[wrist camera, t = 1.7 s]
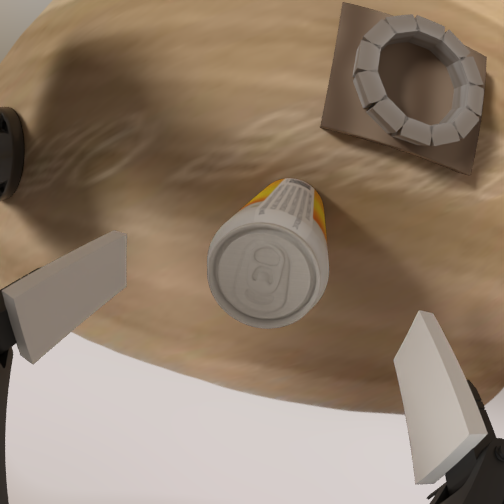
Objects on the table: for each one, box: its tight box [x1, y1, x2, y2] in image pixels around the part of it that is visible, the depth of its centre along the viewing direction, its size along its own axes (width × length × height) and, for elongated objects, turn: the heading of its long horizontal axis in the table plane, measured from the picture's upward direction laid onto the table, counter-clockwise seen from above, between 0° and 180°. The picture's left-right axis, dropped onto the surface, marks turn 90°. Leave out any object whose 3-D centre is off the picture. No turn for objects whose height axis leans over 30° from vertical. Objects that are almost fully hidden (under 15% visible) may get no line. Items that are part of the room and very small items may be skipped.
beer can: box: [207, 178, 329, 329], centre depth 21 cm, size 6×6×15 cm
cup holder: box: [320, 2, 486, 176], centre depth 19 cm, size 14×12×6 cm
